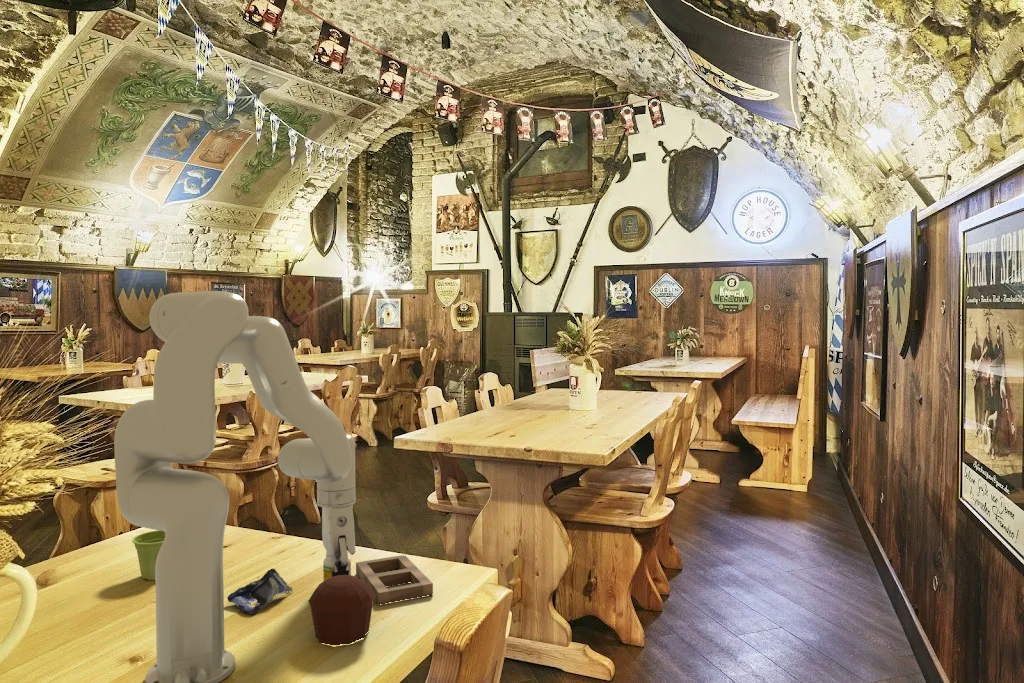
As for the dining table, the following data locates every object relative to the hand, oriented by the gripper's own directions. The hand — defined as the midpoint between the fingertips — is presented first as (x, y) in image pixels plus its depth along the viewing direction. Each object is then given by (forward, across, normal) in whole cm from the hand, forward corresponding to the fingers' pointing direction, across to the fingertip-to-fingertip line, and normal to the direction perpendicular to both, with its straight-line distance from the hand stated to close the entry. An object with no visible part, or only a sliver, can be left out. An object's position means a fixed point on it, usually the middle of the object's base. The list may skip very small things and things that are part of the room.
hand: (337, 584), depth 137 cm
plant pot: (+2, +28, +33) cm, 43 cm away
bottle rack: (+2, 0, -12) cm, 12 cm away
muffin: (+2, -19, +3) cm, 19 cm away
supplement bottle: (+2, 0, 0) cm, 2 cm away
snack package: (+3, +3, +14) cm, 15 cm away
